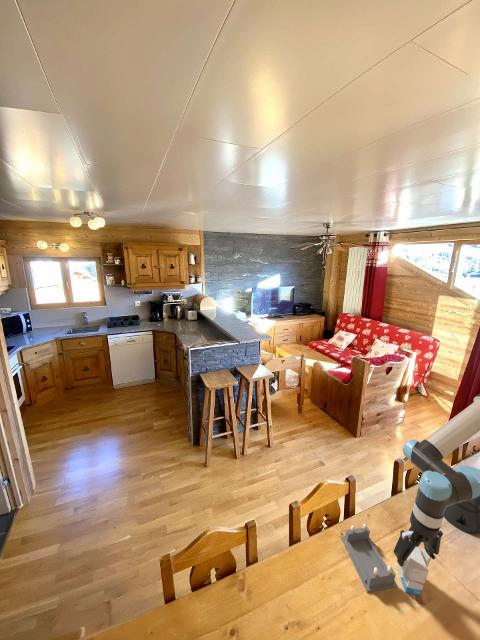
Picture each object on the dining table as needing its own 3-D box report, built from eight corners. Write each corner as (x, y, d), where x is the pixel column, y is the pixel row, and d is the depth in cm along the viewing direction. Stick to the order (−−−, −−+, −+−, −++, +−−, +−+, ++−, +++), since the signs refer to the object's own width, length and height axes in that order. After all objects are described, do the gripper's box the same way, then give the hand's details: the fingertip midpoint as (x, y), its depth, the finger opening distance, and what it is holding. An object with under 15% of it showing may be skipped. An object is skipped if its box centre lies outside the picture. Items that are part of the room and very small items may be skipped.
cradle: (366, 534, 105) (369, 520, 103) (396, 587, 89) (401, 571, 87) (341, 538, 103) (343, 523, 101) (367, 592, 87) (370, 576, 85)
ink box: (421, 597, 87) (429, 571, 84) (405, 592, 88) (412, 567, 84) (411, 567, 95) (417, 543, 92) (395, 563, 96) (402, 539, 93)
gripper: (443, 503, 89) (428, 552, 95) (388, 509, 86) (376, 560, 92) (465, 525, 82) (447, 577, 88) (405, 533, 79) (391, 587, 85)
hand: (411, 568), depth 90 cm, fingers open, 8 cm apart
